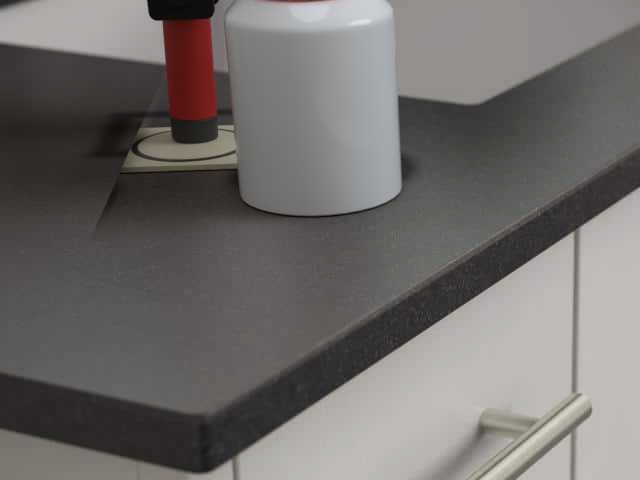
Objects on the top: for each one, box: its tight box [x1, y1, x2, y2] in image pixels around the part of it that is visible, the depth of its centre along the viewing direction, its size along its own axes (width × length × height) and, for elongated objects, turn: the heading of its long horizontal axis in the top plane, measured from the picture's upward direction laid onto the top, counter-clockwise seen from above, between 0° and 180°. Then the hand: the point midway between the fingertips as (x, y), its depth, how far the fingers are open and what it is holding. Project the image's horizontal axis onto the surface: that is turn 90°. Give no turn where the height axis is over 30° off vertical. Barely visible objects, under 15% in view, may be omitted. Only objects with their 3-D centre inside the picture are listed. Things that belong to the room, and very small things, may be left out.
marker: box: [161, 17, 219, 143], centre depth 83 cm, size 2×2×12 cm
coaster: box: [119, 124, 238, 174], centre depth 85 cm, size 8×7×1 cm
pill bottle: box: [223, 0, 403, 217], centre depth 76 cm, size 8×8×11 cm
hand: (185, 8), depth 82 cm, fingers closed on marker, 2 cm apart
